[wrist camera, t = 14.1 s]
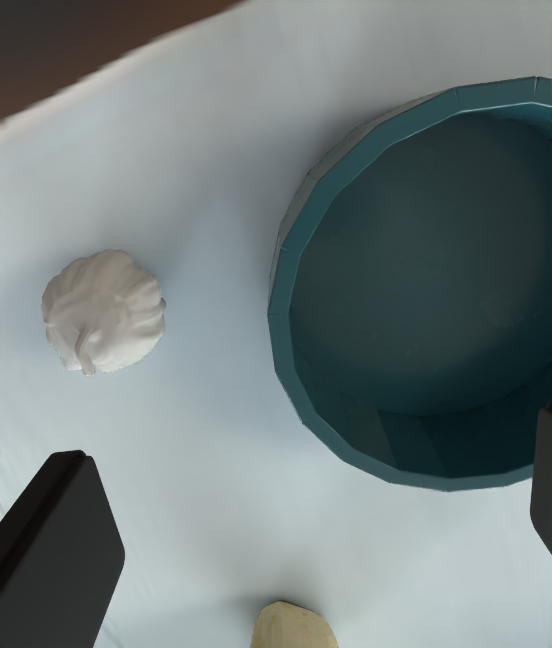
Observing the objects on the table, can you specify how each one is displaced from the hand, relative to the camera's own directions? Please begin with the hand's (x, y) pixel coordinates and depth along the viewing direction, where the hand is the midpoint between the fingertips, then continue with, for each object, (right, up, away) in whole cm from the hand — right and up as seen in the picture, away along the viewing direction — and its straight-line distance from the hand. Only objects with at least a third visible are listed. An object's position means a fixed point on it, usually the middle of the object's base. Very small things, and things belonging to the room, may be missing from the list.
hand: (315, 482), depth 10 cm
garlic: (-9, +5, +14) cm, 17 cm away
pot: (+7, +5, +13) cm, 16 cm away
